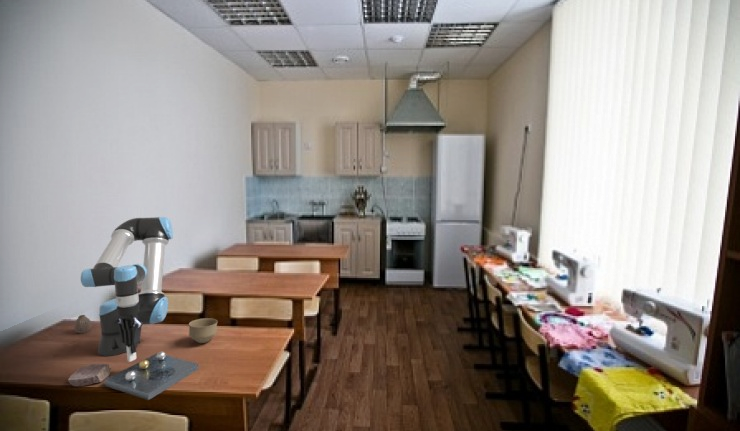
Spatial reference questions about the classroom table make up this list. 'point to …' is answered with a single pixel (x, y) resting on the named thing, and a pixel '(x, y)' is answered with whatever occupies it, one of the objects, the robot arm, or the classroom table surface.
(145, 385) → the plate
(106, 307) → the robot arm
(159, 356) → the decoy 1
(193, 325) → the bowl
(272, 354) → the classroom table surface
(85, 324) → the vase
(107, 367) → the stone
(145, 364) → the brass ball
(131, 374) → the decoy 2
